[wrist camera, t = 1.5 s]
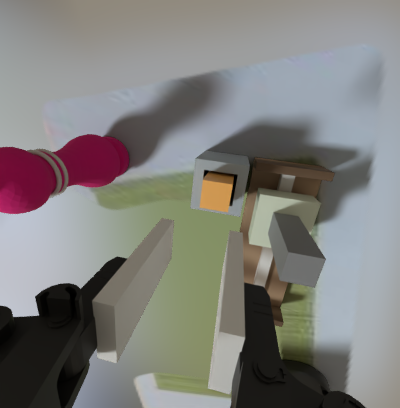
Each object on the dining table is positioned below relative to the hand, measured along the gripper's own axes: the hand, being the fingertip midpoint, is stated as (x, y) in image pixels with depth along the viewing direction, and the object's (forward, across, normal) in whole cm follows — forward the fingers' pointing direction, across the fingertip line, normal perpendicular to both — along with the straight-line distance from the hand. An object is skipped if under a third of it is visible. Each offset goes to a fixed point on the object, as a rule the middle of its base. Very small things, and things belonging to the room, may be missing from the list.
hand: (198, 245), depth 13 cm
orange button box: (+21, 0, 0) cm, 21 cm away
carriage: (+18, -9, +4) cm, 20 cm away
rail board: (+21, -8, +10) cm, 24 cm away
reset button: (+16, 0, 0) cm, 16 cm away
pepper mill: (+21, +18, 0) cm, 27 cm away
